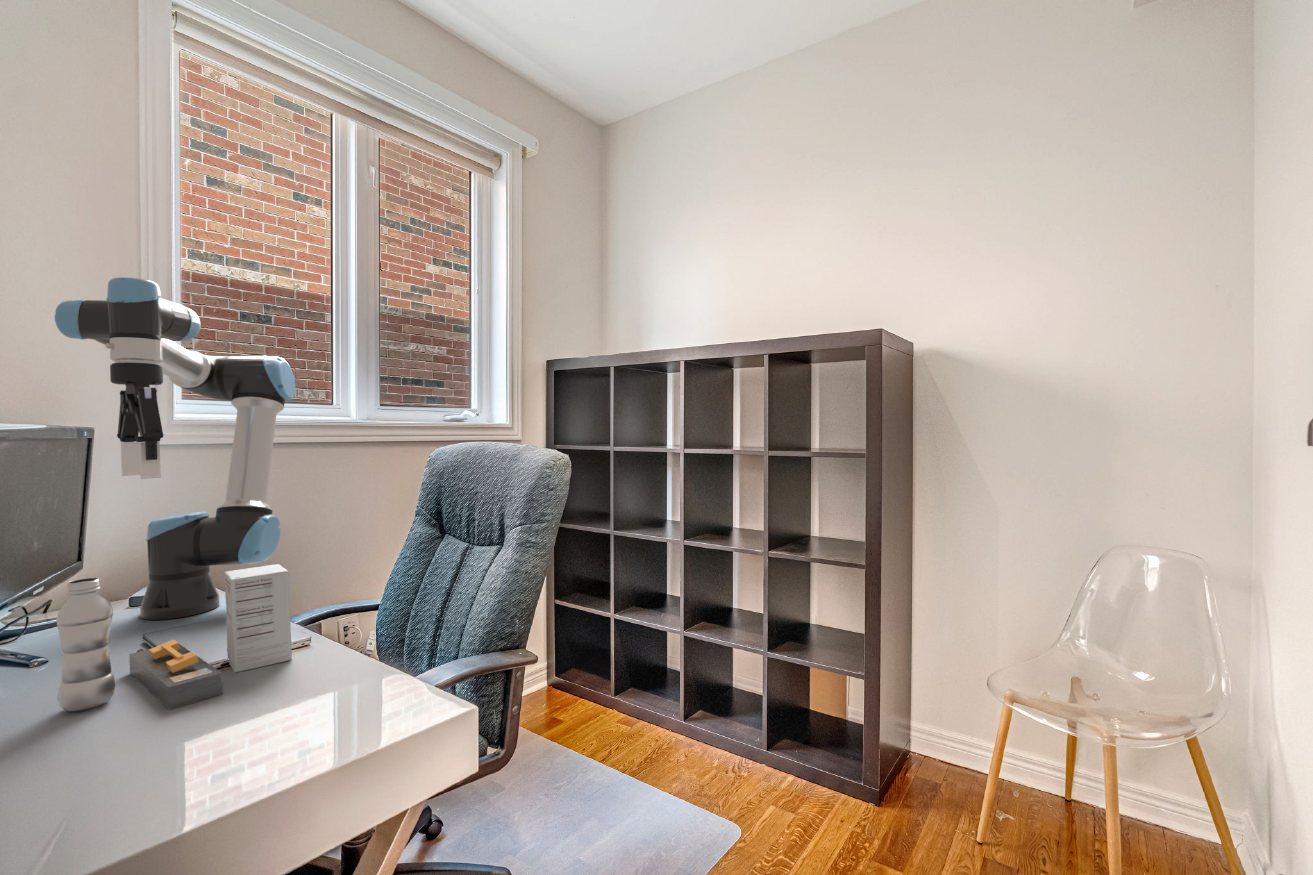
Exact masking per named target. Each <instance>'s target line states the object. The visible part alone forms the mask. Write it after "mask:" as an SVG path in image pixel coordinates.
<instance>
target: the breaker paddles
mask: <svg viewBox="0 0 1313 875" xmlns="http://www.w3.org/2000/svg"><path fill="white" fill-rule="evenodd" d="M179 644H180V643H179V642H178V641H177V640H176V639H171V640H169V641H167V642H165V643H161V644H159V645H157V646H155V647H152V648H149V651H150V654H151V656H152V657H153V658H155V659H157V658H160V657H162V656H165V655H167V654H170V655H172V656H173V657H175V659H172V660H170V661H168V662H166V665H167V668H168V669H169V670H170V671H171V672H172V673H174V672H176V671H178V670H181V669H183V668H185V667H187V666H190V665H192V664H194V663H197V662H199V661H198V658H197V656H198V655H197V654H195V653H194V652H193V651H190V652H189V653H187V654H184V655H182V654H180V653H179V652H177V650H179V649H180V646H179Z"/></svg>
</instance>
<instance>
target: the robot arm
mask: <svg viewBox="0 0 1313 875" xmlns="http://www.w3.org/2000/svg"><path fill="white" fill-rule="evenodd" d="M107 283H108V284H107V292H106V293H107V296H106V300H105V299H104V300H103V299H102V300H99V299H96V300H95V299H83V298H82V299H79V300H78V299H77V300H73V299H72V300H64V301H61V302H60V303H59V304H58V305H57V307H56V308H55V313H54V314H55V315H54V322H55V326H56V327H57V329H58V331H59V332H60V333H61V334H62V335H63V336H64V337H67V338H70V339H77V340H93V341H96V342H97V343H100V344H103V345H105V348H106V349H110V350H109V359H110V360H111V361H113V363H111V364H110V365H109V370H110V372H109V373H110V374H109V377H110V382H111V383H112V384H113V385H122V386H123V385H125V390H123V389H122V390H119V395H120V396H119V398H120V399H119V401H120V402H119V414H118V426H117V434H116V437H117V438H118V439H119V441H120V459H121V460H120V461H121V477H128V476H130V477H131V476H140V479H141V480H144V479H145V480H146V479H160V478H161V477H162V475H161V451H160V450H161V449H160V448H161V445H160V444H161V443H160V442H161V439H163V438H164V433H163V427H162V421H161V416H160V415H161V414H160V410H159V405H158V396H157V392H158V390H157V388H156V387H151V386H159V385H160V386H161V385H162V384H163V382H164V375H165V376H167V377H168V378H169V380H170V381H171V382H172V383H173V384H174V385H176V386H178V387H179V388H181V389H183V390H186V391H188V392H191V393H193V394H196V395H199V396H203V397H205V398H209V399H212V400H218V401H224V402H225V401H228V402H229V401H231V403H230V404H231V405H232V406H233V407H234V408H235V410H236V419H235V424H234V432H233V442H232V449H231V457H230V463H229V471H228V477H227V478H228V479H227V486H226V493H225V494H226V495H225V500H224V502H223V503H222V504H220V505H219V506H217V507H216V510H215V511H216V512H215V516H214V517H209V516H210V515H209V514H208V512H207V511H206V510H205V511H196V512H190V513H183V514H178V515H172V516H171V515H170V516H166V517H162V518H157V519H154V520H153V521H150V523H149V524H148V526H147V533H146V543H147V546H146V547H147V565H148V566H147V567H148V569H147V570H148V583H147V584H148V585H147V588H146V590H145V593H144V596H143V599H142V602H141V604H140V607H139V613H140V616H139V617H140V618H141V619H143V620H148V621H149V620H150V621H154V620H155V621H156V620H158V621H159V620H171V619H178V618H179V619H180V618H184V617H190V616H195V615H199V614H203V613H207V612H209V611H211V610H214V609H217V608H218V607H219V606H220V595H219V592H218V590H217V588H216V586H215V583H214V581H213V579H212V576H211V573H210V572H211V571H210V567H212V566H215V567H216V566H232V565H235V566H236V565H243V566H248V565H253V564H261V563H265V562H266V561H268V560H269V559H270V558H271V557H272V555H273V554H274V553H275V551H276V550H277V548H278V545H279V543H280V539H281V531H282V530H281V521H280V519H279V518H278V517H277V516H276V515H274V514H273V511H274V510H273V508H272V506H271V507H270V505H269V504H268V503H267V502H268V494H269V484H270V483H269V482H270V475H271V474H270V473H271V465H272V455H273V449H274V448H273V447H274V438H275V430H276V422H277V415H278V414H279V413H280V412H282V411H284V410H285V401H286V402H289V401H291V400H293V399H294V397H295V395H296V381H295V377H294V373H293V370H292V367H291V366H290V364H289V362H287V361H286V359H284V358H283V357H280V356H274V355H271V356H269V355H259V356H258V355H241V356H240V355H206V354H203V353H201V352H199V351H197V350H188V349H186V348H184V347H183V346H181V345H180V344H177V343H176V342H187V341H190V340H192V339H194V338H195V337H197V335H198V334H199V332H200V330H201V320H200V316H199V315H198V314H197V313H196V311H194V310H193V309H191V308H189V307H187V306H185V305H184V304H181V303H179V302H173V301H170V300H167V299H164V298H162V294H161V289H160V286H159V284H158V283H157V282H155V281H152V280H148V279H143V278H137V277H113V278H111V279H110V280H109V281H108V282H107ZM139 435H140V436H139Z"/></svg>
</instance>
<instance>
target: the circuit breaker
mask: <svg viewBox="0 0 1313 875" xmlns="http://www.w3.org/2000/svg"><path fill="white" fill-rule="evenodd" d="M179 646H180V649H179V650H177V652H179V653H180V654H182V655H184V654H187V653H189V652H191V651H190V650H189V649H188V648H186V647H184V646H183V645H182V644H180V643H179ZM149 649H150V648H149ZM149 649H142V648H140V649H137V650H136V652H131V653H129V655H128V656H129V674H130V675H131V676H132V677H133V678H134V679H135V680H137V682H139V683H140V684H141V685H142V686H143V687H144V688H145V689H146V690H147V691H148V692H150V693H151V694H152V695H153V697H155V698H156V699H157V700H158V701H159V702H160V703H161V704H162V705H164V706H165V708H167V709H168V710H169V711H171V710H174V709H178V708H181V707H183V706H184V707H185V706H187V705H191V704H194V703H197V702H200V701H203V700H207V699H210V698H214V697H216V696H217V697H218V696H221V695H223V694H224V692H223V672H222V671H220V670H219V669H217V668H215V667H214V666H213V665H212V664H209V663H208V662H207V661H205V659H203V658H201V657H199V656H198V655H197V658H198V661H199V662H197V663H194V664H192V665H190V666H187V667H185V668H183V669H181V670H178V671H176V672H174V673H172V672H171V671H170V670H169V669H168V668H167V665H166V662H168V661H170V660H172V659H175V657H173V656H172V655H170V654H167V655H165V656H162V657H160V658H157V659H155V658H153V657H152V656H151V654H150V651H149Z"/></svg>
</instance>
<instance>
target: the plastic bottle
mask: <svg viewBox="0 0 1313 875" xmlns="http://www.w3.org/2000/svg"><path fill="white" fill-rule="evenodd" d="M66 585H67V586H66V587H67V590H66V595H68V596H69V598H68V599H67V601H65V603H64V604H63V605H62V606H61V608H60V609H59V611H58V613H57V616H56V618H55V620H56V626H57V629H58V630H57V631H58V635H59V638H60V639H59V640H60V645H61V653H62V667H61V675H60V676H61V679H60V683H59V686H58V687H59V688H58V693H57V701H58V705H59V707H60V708H61V709H62V710H64V711H65V712H78V711H79V712H80V711H84V710H88V709H92V708H96V707H98V706H100V705H104V704H105V703H107V702H109V701H110V699H111V698H112V697H113V695H114V694H115V688H116V679H115V676H114V672H113V671H112V665H111V655H110V641H111V640H110V637H111V635H110V634H111V628H112V622H113V615H114V609H113V606H112V604H111V602H110V601H109V600H107V598H105V597H104V596H103V595H102V594H100V593H99V591H100V590H101V589H102V587H101V581H100V578H99V577H87V578H79V579H73V580H70V581H67V584H66Z"/></svg>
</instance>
